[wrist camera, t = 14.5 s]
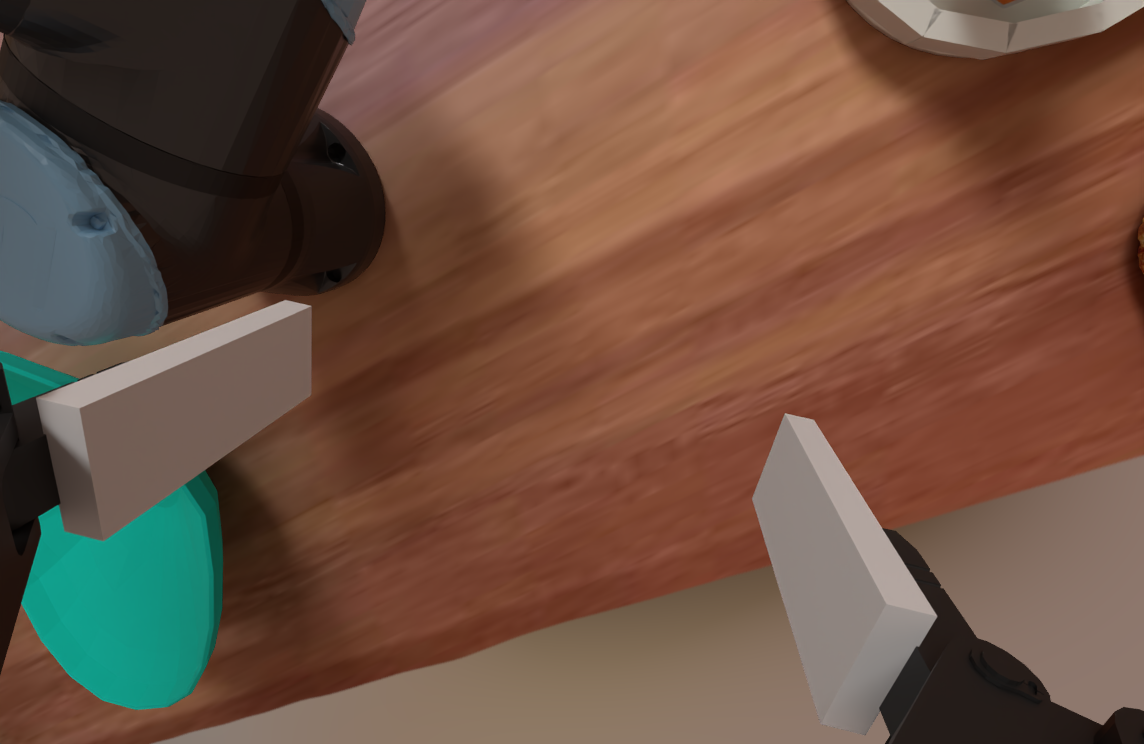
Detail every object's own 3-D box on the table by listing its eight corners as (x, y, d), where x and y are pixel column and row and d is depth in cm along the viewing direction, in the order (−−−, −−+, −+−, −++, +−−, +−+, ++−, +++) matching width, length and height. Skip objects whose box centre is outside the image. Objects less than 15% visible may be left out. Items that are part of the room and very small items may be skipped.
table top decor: (352, 570, 60) (276, 676, 47) (178, 631, 67) (73, 736, 55) (108, 236, 49) (-73, 262, 37) (-67, 354, 56) (-266, 408, 44)
